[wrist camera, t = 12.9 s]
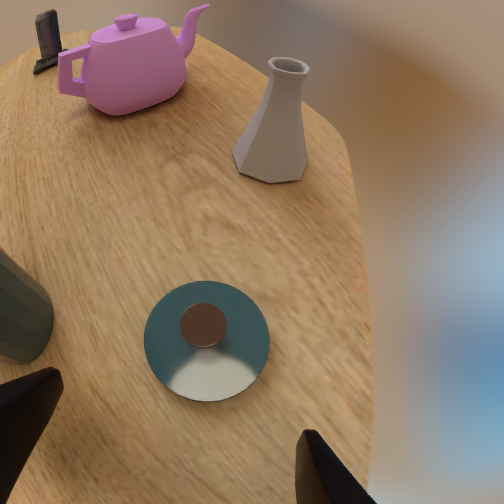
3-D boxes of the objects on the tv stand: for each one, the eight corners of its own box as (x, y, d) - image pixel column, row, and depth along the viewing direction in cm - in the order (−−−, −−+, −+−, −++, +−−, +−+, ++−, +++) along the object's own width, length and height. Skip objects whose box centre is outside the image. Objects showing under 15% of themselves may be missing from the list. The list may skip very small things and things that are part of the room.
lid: (257, 411, 16) (269, 414, 12) (135, 385, 16) (111, 378, 12) (274, 298, 20) (288, 269, 16) (164, 276, 20) (152, 243, 16)
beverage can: (68, 50, 40) (59, 4, 30) (76, 57, 38) (67, 4, 28) (30, 70, 37) (18, 23, 26) (34, 78, 34) (20, 26, 24)
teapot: (231, 87, 33) (239, 9, 23) (77, 146, 26) (49, 58, 16) (185, 56, 38) (185, -6, 28) (61, 100, 30) (44, 34, 21)
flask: (227, 180, 25) (235, 78, 16) (235, 130, 29) (244, 43, 20) (309, 190, 25) (345, 96, 17) (304, 139, 29) (329, 57, 20)
